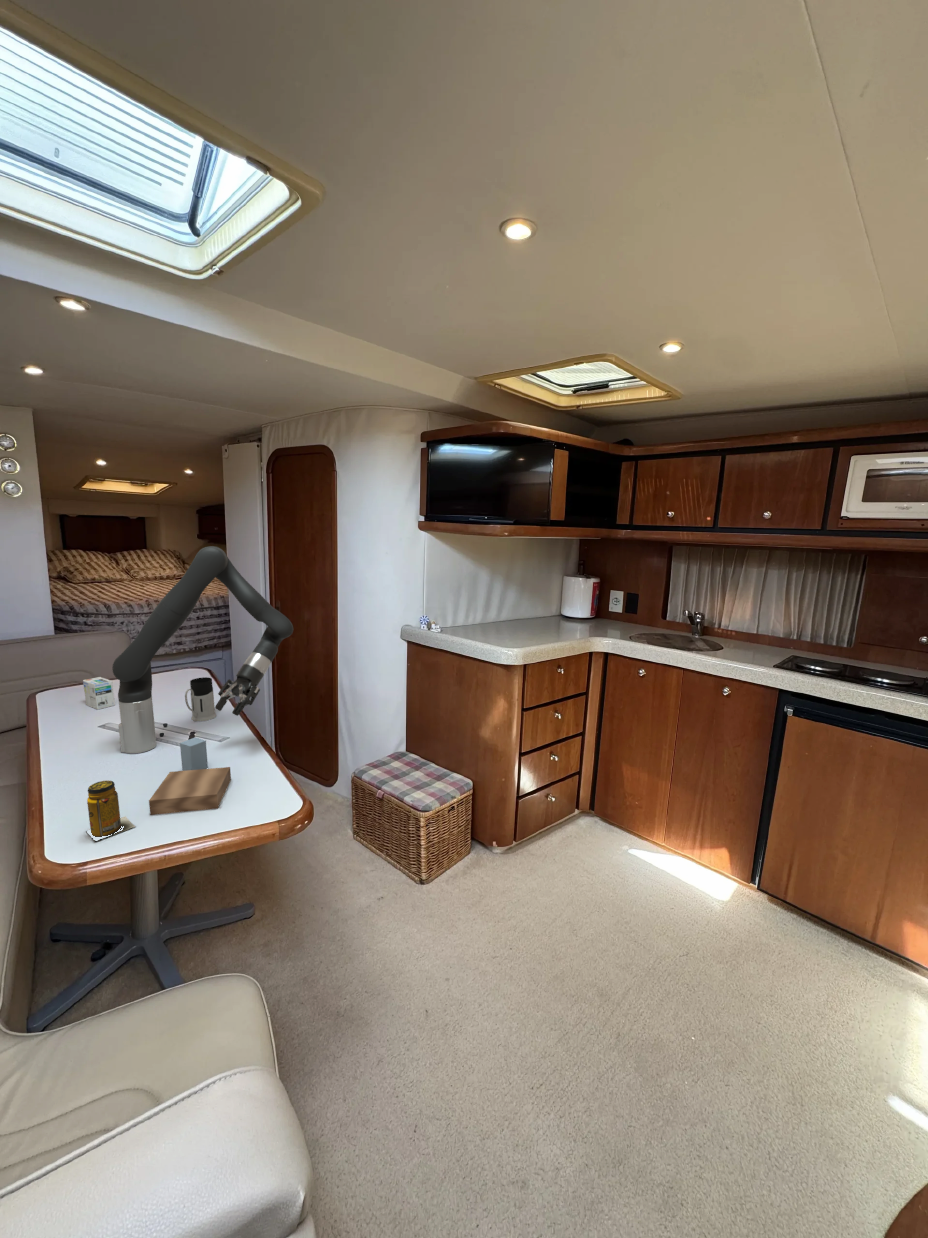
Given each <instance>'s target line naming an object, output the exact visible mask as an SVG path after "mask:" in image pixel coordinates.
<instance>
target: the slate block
mask: <svg viewBox="0 0 928 1238" xmlns="http://www.w3.org/2000/svg"><path fill="white" fill-rule="evenodd" d="M179 747H180V748H179V749H180V759H181V769H182V770H181V771H187V770H199V769H207V768H208V769H209V766H208V764H209V762H208V751H207V740H205V739H202V738H199V737H197V736H196V737H192V738H190V739H187V740H184V741H182V742H179Z"/></svg>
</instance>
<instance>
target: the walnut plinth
mask: <svg viewBox="0 0 928 1238" xmlns="http://www.w3.org/2000/svg"><path fill="white" fill-rule="evenodd" d="M231 773H232V772H231V766H225V767H214V768H208V769H199V770H187V771H182V770H178V771H169V773H167V775H166V776H165V778H164V780H162V782H161V783H160V785H159V786H158V788H157V789H156V790H155V791H154V793H153V794H152V795H151V797H150V798H149V800H148V806H149V815H150V816H153V815H164V814H174V813H175V814H176V813H185V812H194V811H195V812H196V811H205V810H214V809H215V810H217V809H219V806H220V805H221V803H222V800H223V798H224V796H225V793H226V791H227V789H228V787H229V785H230V783H231V780H232V774H231Z"/></svg>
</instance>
